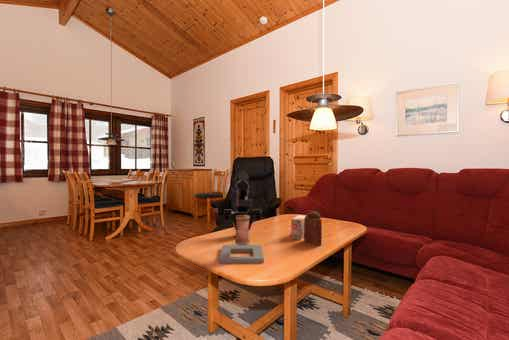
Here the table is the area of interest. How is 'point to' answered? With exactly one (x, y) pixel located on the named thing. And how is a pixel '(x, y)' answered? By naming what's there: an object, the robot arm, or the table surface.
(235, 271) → the table surface
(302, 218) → the stack of blocks
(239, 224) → the cord spool
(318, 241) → the wooden figurine
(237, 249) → the gray square frame
